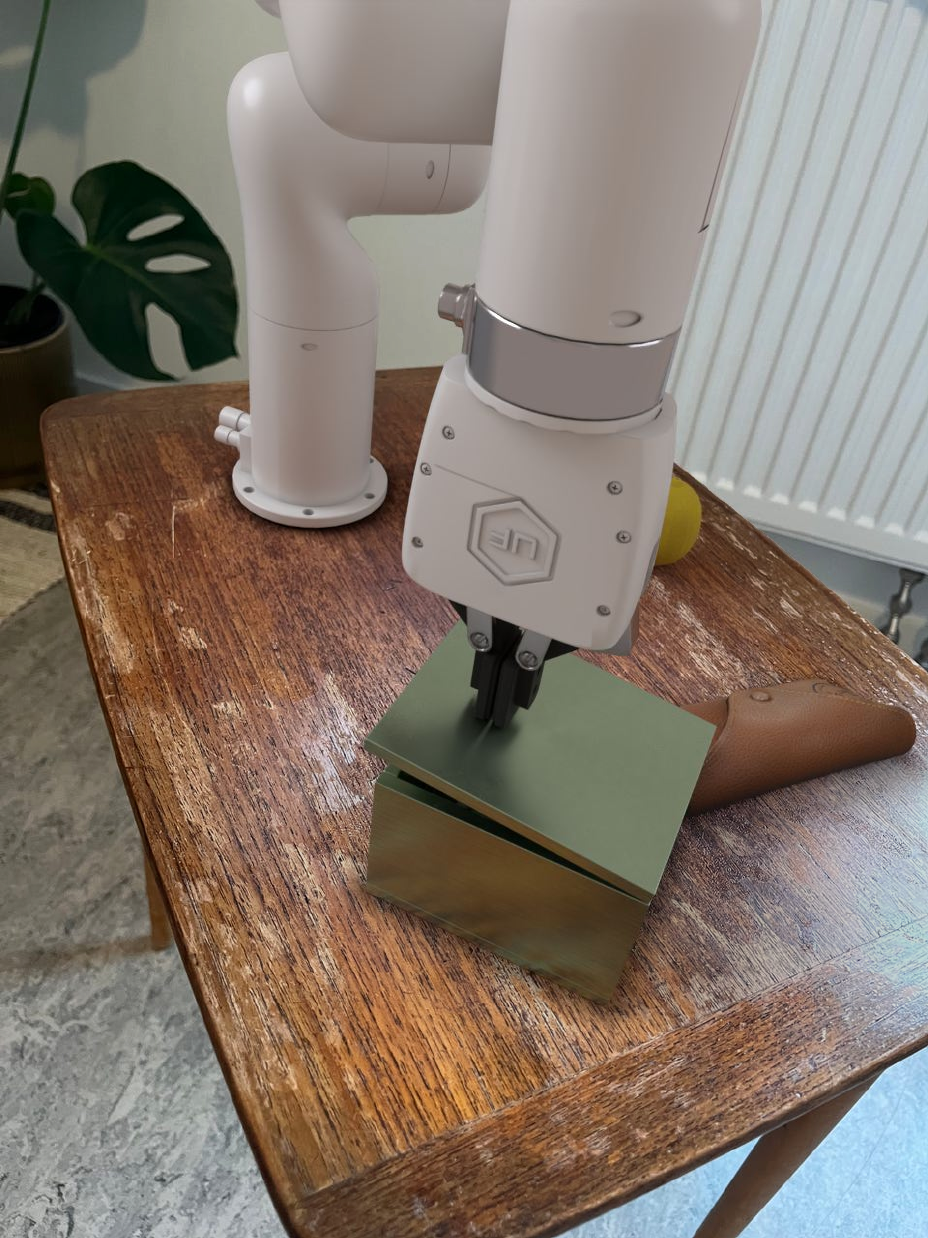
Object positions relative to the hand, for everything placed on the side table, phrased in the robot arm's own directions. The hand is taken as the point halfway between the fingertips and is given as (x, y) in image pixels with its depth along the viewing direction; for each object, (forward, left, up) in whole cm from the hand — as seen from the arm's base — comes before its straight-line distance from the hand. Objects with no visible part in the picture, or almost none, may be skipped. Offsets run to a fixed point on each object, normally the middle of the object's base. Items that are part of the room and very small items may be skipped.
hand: (501, 704), depth 47 cm
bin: (+3, 0, -11) cm, 11 cm away
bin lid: (+3, 0, -1) cm, 3 cm away
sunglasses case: (+13, +16, -11) cm, 24 cm away
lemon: (+1, +32, -11) cm, 34 cm away
